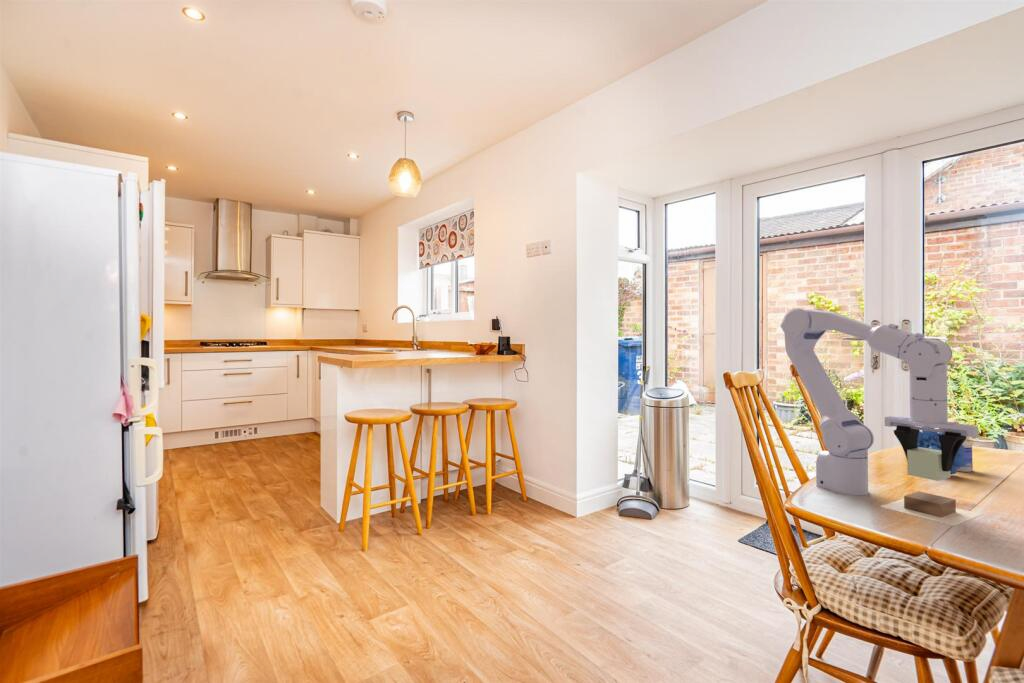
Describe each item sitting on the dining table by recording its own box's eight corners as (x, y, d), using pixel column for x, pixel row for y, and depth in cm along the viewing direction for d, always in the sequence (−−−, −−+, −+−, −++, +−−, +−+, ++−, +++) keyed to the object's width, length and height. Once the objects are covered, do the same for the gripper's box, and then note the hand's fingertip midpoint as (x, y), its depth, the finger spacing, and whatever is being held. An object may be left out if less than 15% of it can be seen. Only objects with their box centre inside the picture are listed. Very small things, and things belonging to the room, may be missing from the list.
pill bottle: (978, 472, 126) (978, 434, 126) (958, 472, 126) (957, 435, 126) (959, 466, 131) (958, 431, 131) (939, 467, 131) (938, 431, 131)
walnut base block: (904, 508, 98) (904, 495, 98) (918, 503, 101) (918, 491, 101) (941, 517, 93) (941, 504, 93) (955, 512, 95) (955, 499, 95)
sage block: (907, 474, 98) (907, 449, 98) (919, 471, 100) (919, 447, 100) (938, 480, 93) (938, 454, 93) (950, 477, 96) (950, 451, 96)
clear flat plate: (879, 510, 99) (879, 506, 99) (909, 500, 105) (909, 496, 105) (954, 530, 89) (954, 525, 89) (982, 518, 94) (982, 514, 94)
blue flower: (904, 472, 127) (904, 426, 127) (909, 467, 131) (908, 423, 131) (965, 481, 118) (964, 432, 118) (967, 475, 123) (967, 428, 123)
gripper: (876, 397, 101) (877, 462, 101) (966, 404, 88) (967, 479, 88) (894, 395, 105) (894, 457, 105) (983, 402, 92) (983, 473, 92)
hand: (929, 467), depth 97 cm, fingers closed on sage block, 5 cm apart
